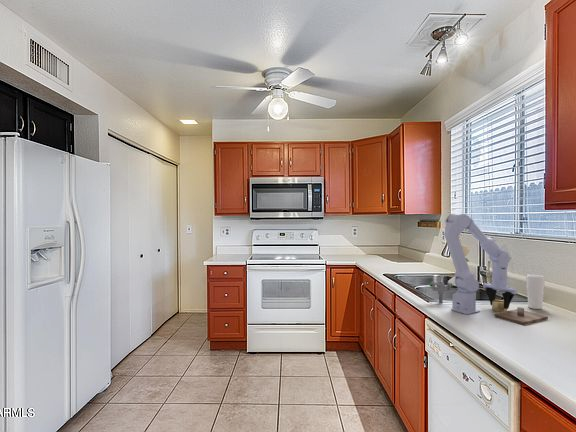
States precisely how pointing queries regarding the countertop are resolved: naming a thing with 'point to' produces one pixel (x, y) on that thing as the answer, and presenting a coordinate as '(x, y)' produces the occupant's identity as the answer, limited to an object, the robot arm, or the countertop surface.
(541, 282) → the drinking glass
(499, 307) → the brass collar
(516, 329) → the countertop surface
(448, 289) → the mechanical component
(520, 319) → the hub board
